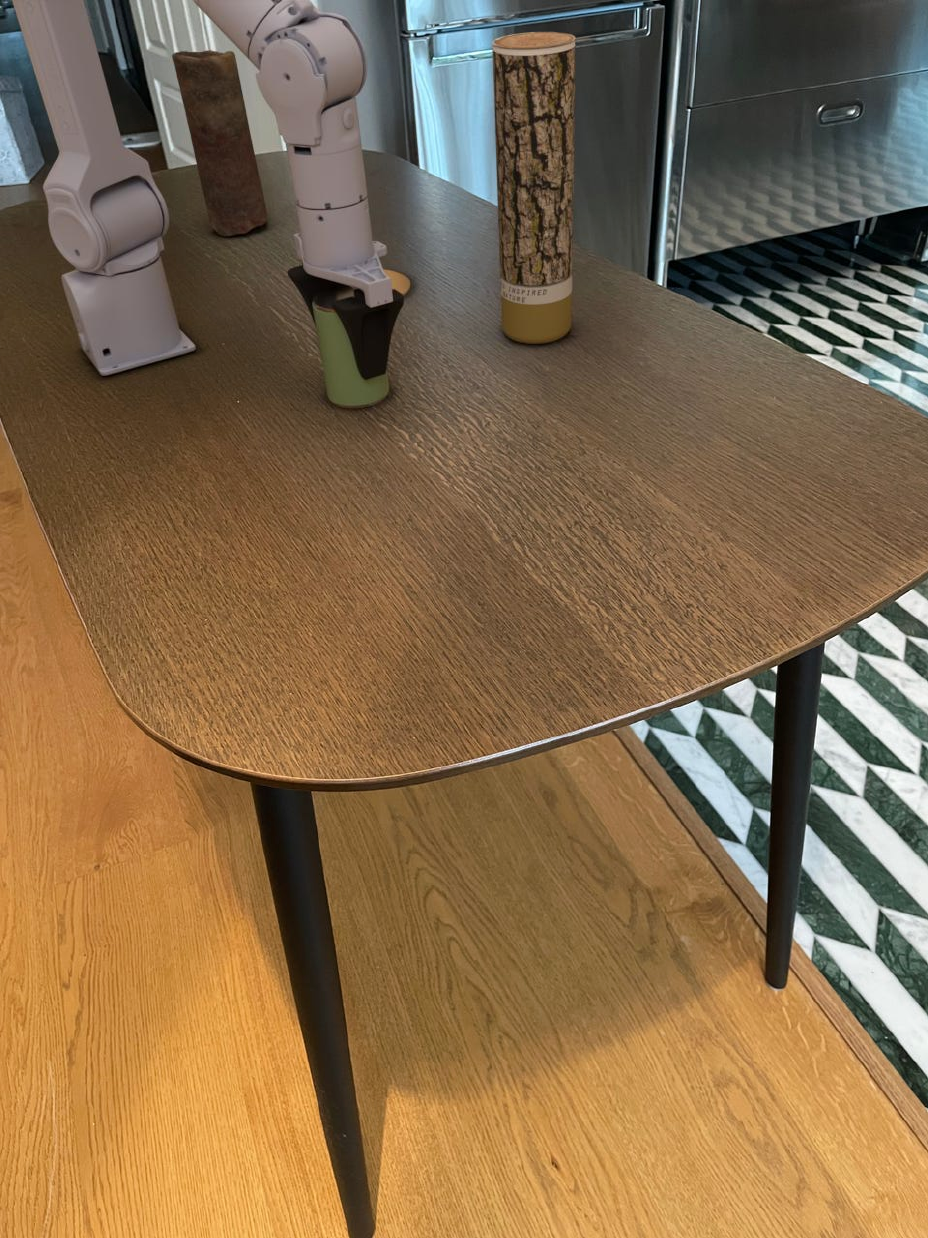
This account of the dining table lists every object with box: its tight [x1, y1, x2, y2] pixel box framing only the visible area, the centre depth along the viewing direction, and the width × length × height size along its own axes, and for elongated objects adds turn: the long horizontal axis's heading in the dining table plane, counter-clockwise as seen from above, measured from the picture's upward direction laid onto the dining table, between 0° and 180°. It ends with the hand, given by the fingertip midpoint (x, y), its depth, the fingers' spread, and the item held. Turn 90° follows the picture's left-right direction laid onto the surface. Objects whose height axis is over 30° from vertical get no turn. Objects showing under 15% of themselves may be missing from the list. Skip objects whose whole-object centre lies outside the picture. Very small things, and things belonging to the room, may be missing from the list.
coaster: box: [383, 268, 411, 297], centre depth 106 cm, size 11×11×1 cm
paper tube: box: [491, 31, 577, 345], centre depth 87 cm, size 7×7×25 cm
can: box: [312, 285, 390, 410], centre depth 84 cm, size 6×6×9 cm
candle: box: [171, 49, 268, 237], centre depth 118 cm, size 8×7×20 cm
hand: (354, 359), depth 85 cm, fingers open, 7 cm apart
